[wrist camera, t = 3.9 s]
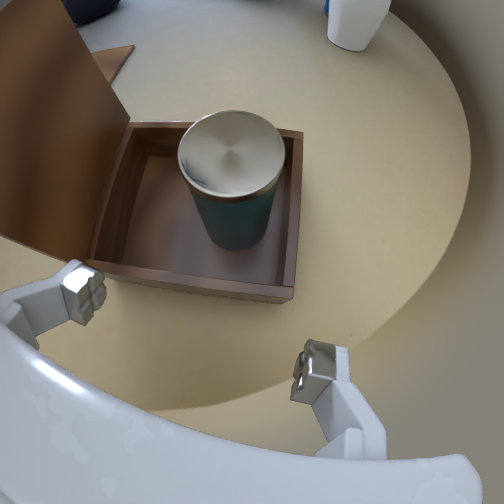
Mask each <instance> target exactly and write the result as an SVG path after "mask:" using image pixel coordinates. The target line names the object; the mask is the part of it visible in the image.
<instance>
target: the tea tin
mask: <svg viewBox="0 0 504 504" xmlns="http://www.w3.org/2000/svg"><path fill="white" fill-rule="evenodd" d="M177 160H178V166H179V169H180V172H181V174H182V176H183V178H184V180H185V182H186V183H187V185H188V187H189V189H190V192H191V194H192V197H193V199H194V202H195V204H196V207H197V209H198V212H199V214H200V217H201V219H202V221H203V224H204V226H205V229H206V231H207V233H208V235H209V237H210V238H211V240H212V241H213V242H214V243H216V244H217V245H218V246H220V247H222V248H224V249H227V250H234V251H238V250H245V249H248V248H250V247H252V246H254V245H255V244H257V243H258V242H259V241H260V240H261V239H262V237H263V236H264V234H265V232H266V230H267V226H268V222H269V218H270V213H271V209H272V205H273V200H274V196H275V192H276V187H277V183H278V179H279V176H280V174H281V172H282V169H283V165H284V161H285V145H284V142H283V139H282V137H281V135H280V133H279V132H278V130H277V129H276V128H275V127H274V126H273V125H272V124H271V123H270V122H268V121H267V120H266V119H264V118H262V117H260V116H258V115H256V114H253V113H249V112H245V111H234V110H231V111H222V112H217V113H214V114H211V115H208V116H206V117H204V118H202V119H200V120H199V121H197V122H196V123H195V124H193V125H192V126H191V127H190V128H189V129H188V130H187V132H186V133H185V134H184V136H183V138H182V139H181V142H180V144H179V147H178V153H177Z"/></svg>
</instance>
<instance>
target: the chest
mask: <svg viewBox="0 0 504 504" xmlns="http://www.w3.org/2000/svg"><path fill="white" fill-rule="evenodd" d="M195 123H196V122H187V121H146V122H129V124H128V126H127V129H126V130H125V133H124V135H123V138H122V140H121V142H120V145H119V147H118V150H117V153H116V155H115V158H114V161H113V163H112V166H111V169H110V172H109V175H108V178H107V181H106V184H105V187H104V190H103V193H102V196H101V199H100V203H99V206H98V210H97V213H96V217H95V220H94V224H93V228H92V232H91V236H90V240H89V244H88V249H87V253H86V259H85V264H88V265H90V266H92V267H94V268H96V269H99V270H101V271H102V272H104V277H107V278H110V279H113V280H116V281H122V282H127V283H133V284H139V285H145V286H150V287H157V288H163V289H169V290H175V291H182V292H189V293H195V294H202V295H210V296H217V297H225V298H232V299H240V300H249V301H257V302H266V303H275V304H283V303H285V302H287V301H289V300H291V299H293V294H294V288H293V287H294V283H295V272H296V260H297V247H298V234H299V219H300V203H301V185H302V162H303V132H298V131H292V130H285V129H277V128H276V129H277V130H278V132H279V133H280V135H281V137H282V139H283V142H284V145H285V161H284V165H283V169H282V172H281V174H280V176H279V179H278V183H277V187H276V192H275V196H274V200H273V205H272V209H271V213H270V218H269V222H268V226H267V230H266V232H265V234H264V236H263V237H262V239H261V240H260V241H259V242H258V243H257V244H255V245H254V246H252V247H250V248H248V249H245V250H238V251H234V250H227V249H224V248H222V247H220V246H218V245H217V244H216V243H214V242H213V241H212V240H211V238H210V237H209V235H208V233H207V231H206V229H205V226H204V224H203V221H202V219H201V217H200V214H199V212H198V209H197V207H196V204H195V202H194V199H193V197H192V194H191V192H190V189H189V187H188V185H187V183H186V182H185V180H184V178H183V176H182V174H181V172H180V169H179V166H178V160H177V153H178V147H179V144H180V142H181V139H182V138H183V136H184V134H185V133H186V132H187V130H188V129H189V128H190V127H191V126H192V125H193V124H195Z"/></svg>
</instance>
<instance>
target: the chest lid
mask: <svg viewBox="0 0 504 504" xmlns="http://www.w3.org/2000/svg"><path fill="white" fill-rule="evenodd" d="M130 119H131V118H130V117H129V115H128V113H127V112H126V110H125V109H124V107H123V105H122V104H121V102H120V100H119V99H118V97H117V96H116V94H115V92H114V91H113V89H112V88H111V86H110V84H109V83H108V81H107V79H106V78H105V76H104V74H103V73H102V71H101V69H100V68H99V66H98V64H97V63H96V61H95V59H94V58H93V56H92V54H91V53H90V51H89V49H88V47H87V46H86V44H85V42H84V41H83V39H82V37H81V35H80V34H79V32H78V30H77V29H76V27H75V25H74V23H73V21H72V20H71V18H70V16H69V14H68V13H67V11H66V9H65V7H64V5H63V4H62V2H61V0H11V1H10V2H9V3H8V4H7V5H5V6H4V7H3V8H2V9H1V10H0V236H2V237H4V238H6V239H9V240H11V241H13V242H15V243H18V244H20V245H23V246H25V247H27V248H30V249H32V250H35V251H37V252H40V253H42V254H45V255H47V256H50V257H52V258H55V259H57V260H60V261H63V262H65V263H68V262H70V261H71V260H73V259H76V260H79V261H81V262H83V263H85V258H86V253H87V249H88V244H89V240H90V236H91V232H92V228H93V224H94V220H95V217H96V213H97V210H98V206H99V203H100V199H101V196H102V193H103V190H104V187H105V184H106V181H107V178H108V175H109V172H110V169H111V166H112V163H113V161H114V158H115V155H116V153H117V150H118V147H119V145H120V142H121V140H122V137H123V135H124V133H125V130H126V128H127V126H128V123H129V121H130Z"/></svg>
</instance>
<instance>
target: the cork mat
mask: <svg viewBox="0 0 504 504" xmlns="http://www.w3.org/2000/svg"><path fill="white" fill-rule="evenodd" d="M134 48H135V46H134V45H130V46H123V47H118V48H112V49H107V50H103V51H98V52H94V53H91V54H92V56H93V58H94V59H95V61H96V63H97V64H98V66H99V68H100V69H101V71H102V73H103V74H104V76H105V78H106V79H107V81H108V83H109V84H110V85H111V83H112V81H113V80H114V78H115V76H116V75H117V73H118V72H119V70H120V69H121V67H122V65H123V64H124V62H125V61H126V59H127V58H128V56H129V55H130V54H131V52H132V51H133V49H134Z"/></svg>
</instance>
